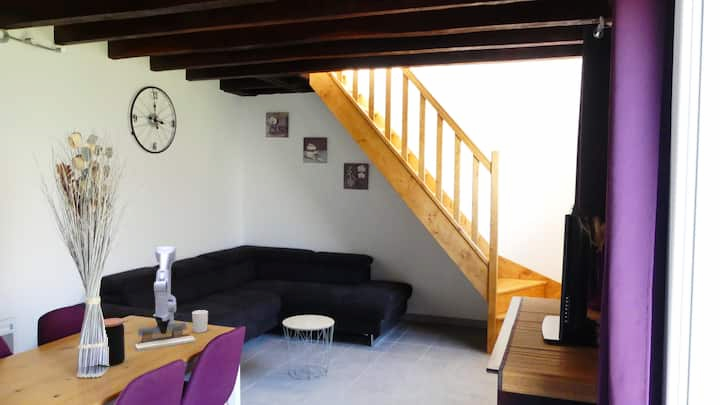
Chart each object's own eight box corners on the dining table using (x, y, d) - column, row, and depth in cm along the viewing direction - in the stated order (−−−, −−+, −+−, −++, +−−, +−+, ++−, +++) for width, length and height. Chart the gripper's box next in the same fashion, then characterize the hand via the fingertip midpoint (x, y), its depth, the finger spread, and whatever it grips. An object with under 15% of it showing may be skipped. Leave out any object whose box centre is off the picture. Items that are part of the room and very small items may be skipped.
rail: (137, 334, 255) (137, 328, 255) (184, 328, 267) (184, 322, 266) (138, 336, 253) (138, 330, 253) (186, 329, 264) (185, 323, 264)
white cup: (205, 333, 272) (205, 313, 271) (190, 333, 272) (189, 313, 271) (210, 328, 280) (209, 310, 279) (195, 328, 280) (195, 310, 279)
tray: (135, 347, 249) (135, 344, 249) (191, 338, 263) (191, 335, 263) (137, 351, 243) (137, 348, 243) (195, 342, 257) (195, 339, 257)
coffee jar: (93, 362, 228) (92, 321, 228) (118, 356, 236) (117, 316, 235) (103, 368, 221) (102, 326, 220) (129, 362, 229) (128, 321, 228)
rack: (140, 341, 258) (140, 330, 257) (181, 335, 267) (180, 325, 267) (142, 345, 252) (142, 333, 252) (183, 338, 262) (183, 328, 262)
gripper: (150, 302, 263) (151, 329, 264) (155, 309, 251) (156, 337, 251) (165, 301, 267) (165, 327, 267) (171, 307, 254) (171, 334, 255)
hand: (162, 332), depth 260 cm, fingers open, 6 cm apart
